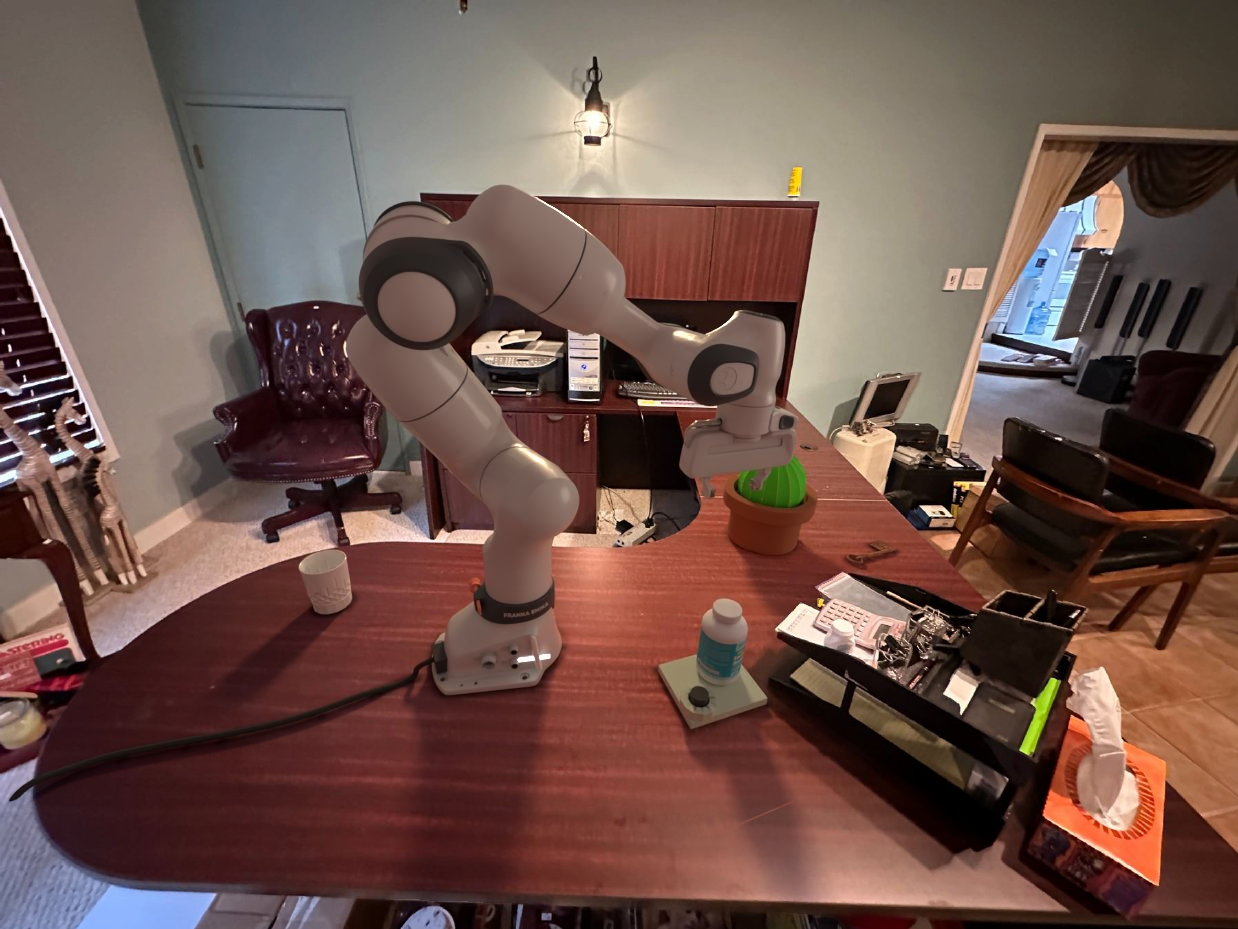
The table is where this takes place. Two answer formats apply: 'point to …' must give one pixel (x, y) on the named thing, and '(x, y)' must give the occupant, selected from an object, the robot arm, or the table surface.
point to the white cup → (327, 580)
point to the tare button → (699, 696)
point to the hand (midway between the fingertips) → (732, 492)
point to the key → (879, 546)
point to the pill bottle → (722, 642)
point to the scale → (721, 697)
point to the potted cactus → (769, 509)
